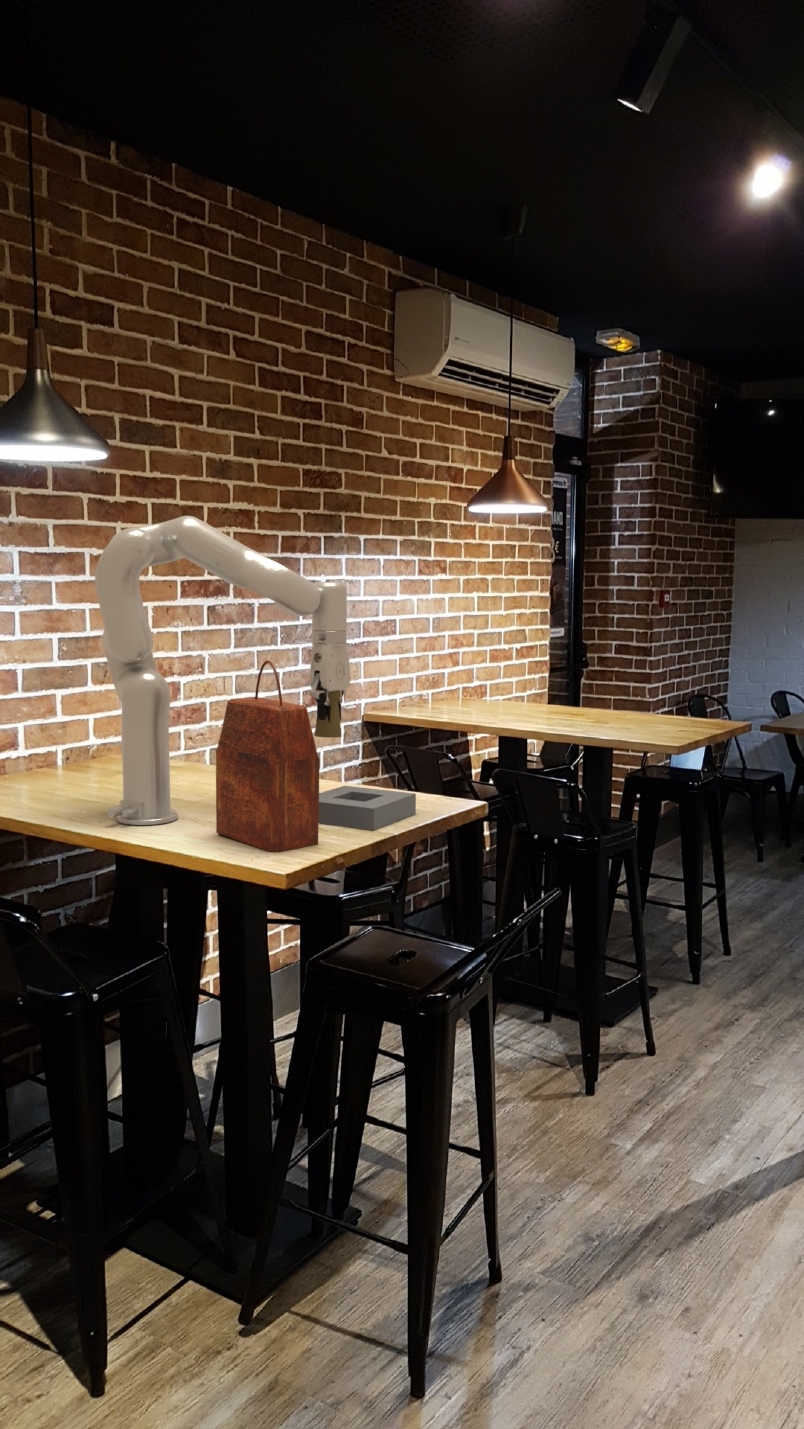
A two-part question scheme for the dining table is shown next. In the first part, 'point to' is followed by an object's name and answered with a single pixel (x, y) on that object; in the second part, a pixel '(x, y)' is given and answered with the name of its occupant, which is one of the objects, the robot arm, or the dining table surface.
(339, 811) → the well block
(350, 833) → the dining table surface
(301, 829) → the handbag
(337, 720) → the cork
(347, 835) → the dining table surface
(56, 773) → the dining table surface
